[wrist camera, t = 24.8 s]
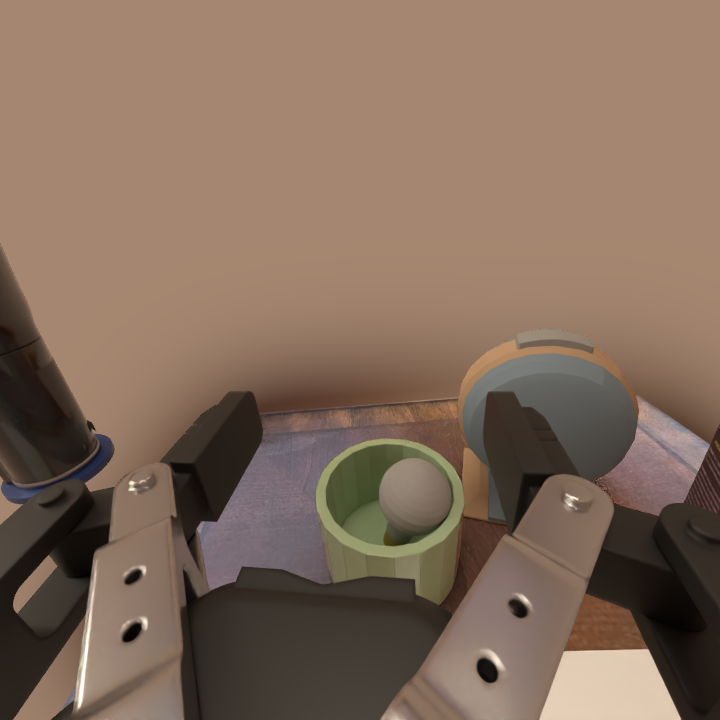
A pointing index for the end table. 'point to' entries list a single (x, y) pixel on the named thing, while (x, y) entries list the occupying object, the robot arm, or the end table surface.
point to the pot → (368, 524)
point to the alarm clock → (548, 407)
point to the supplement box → (708, 480)
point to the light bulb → (413, 500)
